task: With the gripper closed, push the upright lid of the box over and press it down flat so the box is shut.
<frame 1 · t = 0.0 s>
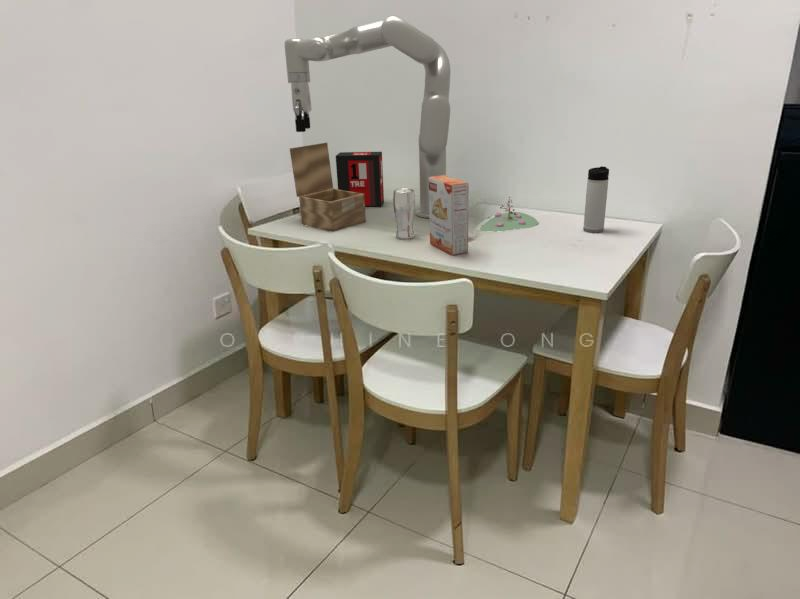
hand: (303, 130, 213), 31 cm above the table, tool pointing down, fingers open, 9 cm apart
lid: (312, 169, 214), point 18 cm above the table, hinge at 95.0°
box: (333, 223, 215), on the table
plant: (504, 225, 208), on the table
travel mug: (593, 231, 196), on the table
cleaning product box: (361, 205, 240), on the table
beer glass: (405, 237, 197), on the table
cracker box: (448, 249, 183), on the table
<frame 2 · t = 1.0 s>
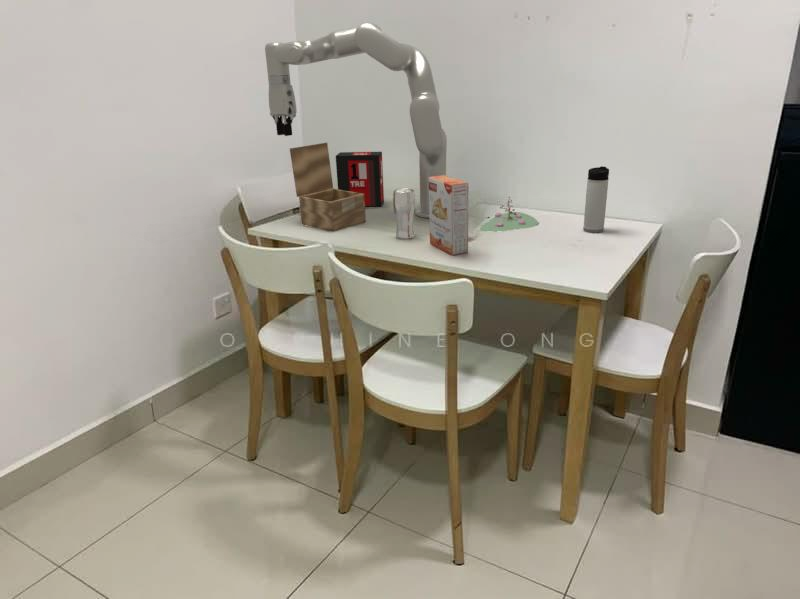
hand: (284, 134, 219), 29 cm above the table, tool pointing down, fingers open, 3 cm apart
nothing on the table moved.
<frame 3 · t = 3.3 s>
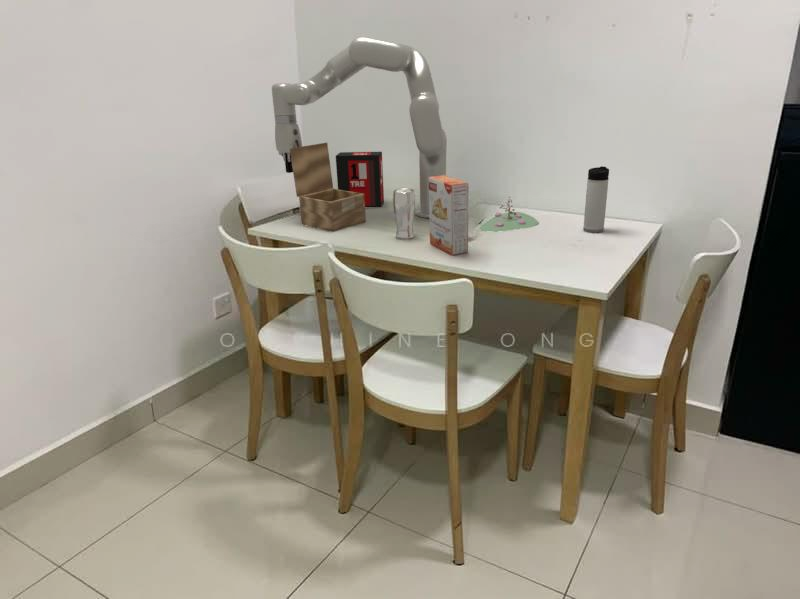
hand: (290, 172, 223), 16 cm above the table, tool pointing down, fingers closed
nothing on the table moved.
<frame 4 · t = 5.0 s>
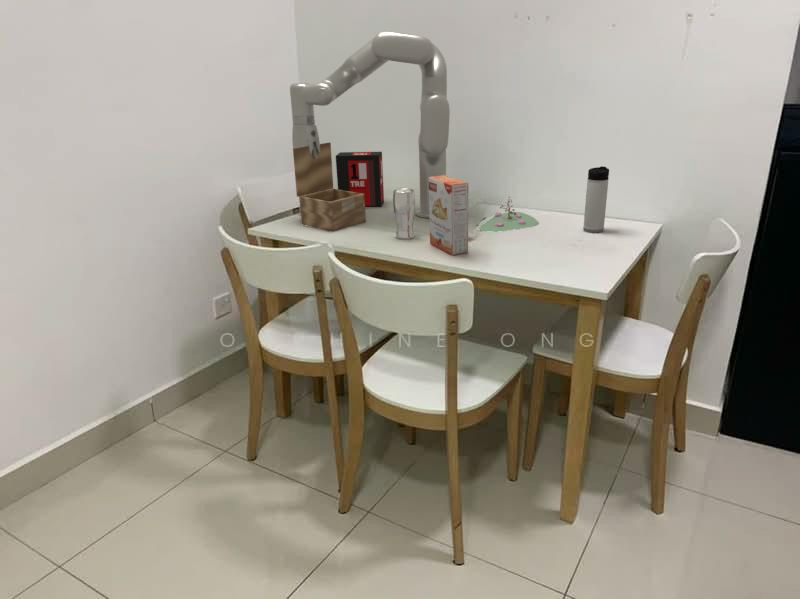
hand: (307, 174, 217), 16 cm above the table, tool pointing down, fingers closed
lid: (313, 169, 214), point 18 cm above the table, hinge at 88.7°, touching gripper
everything else where it was.
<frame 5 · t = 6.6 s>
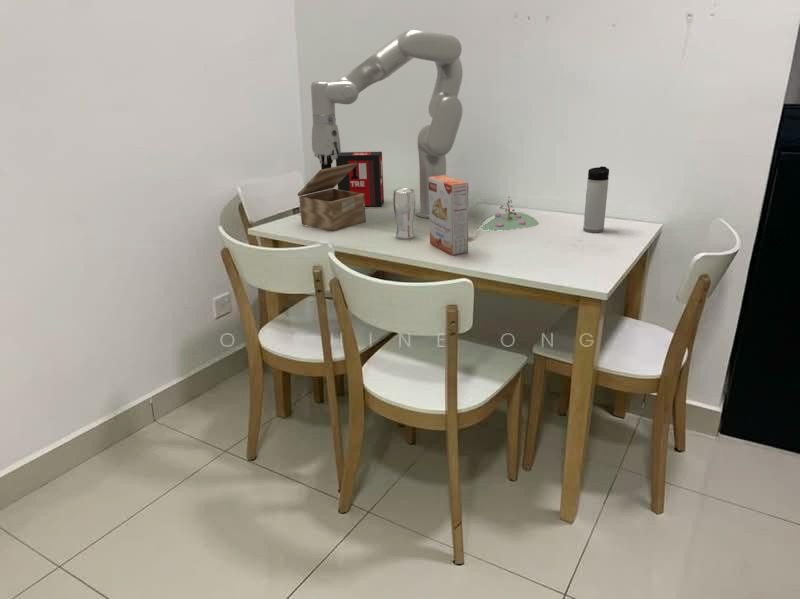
hand: (326, 175, 209), 17 cm above the table, tool pointing down, fingers closed
lid: (327, 179, 211), point 15 cm above the table, hinge at 36.2°, touching gripper
everything else where it was.
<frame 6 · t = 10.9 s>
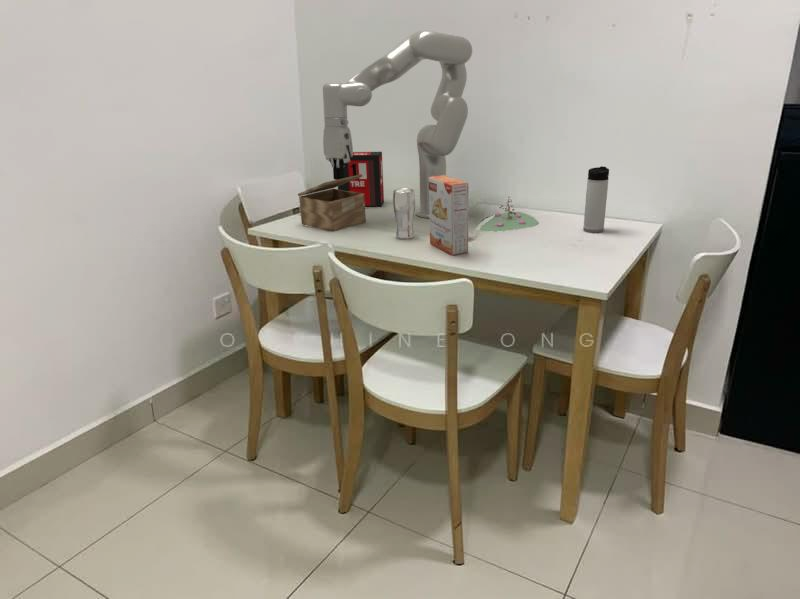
hand: (338, 179, 206), 16 cm above the table, tool pointing down, fingers closed
lid: (329, 185, 210), point 13 cm above the table, hinge at 20.5°, touching gripper
everything else where it was.
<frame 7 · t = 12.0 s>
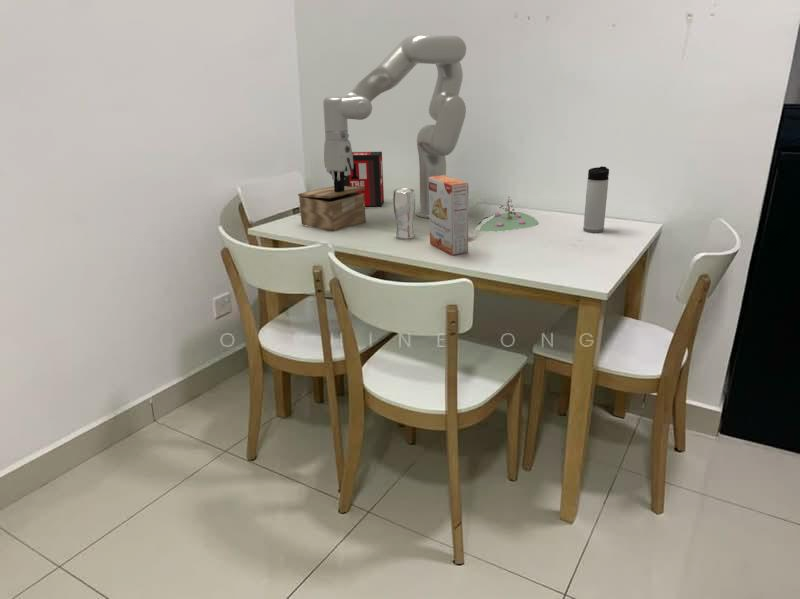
hand: (339, 191, 207), 12 cm above the table, tool pointing down, fingers closed
lid: (331, 191, 211), point 11 cm above the table, hinge at 4.5°, touching gripper
everything else where it was.
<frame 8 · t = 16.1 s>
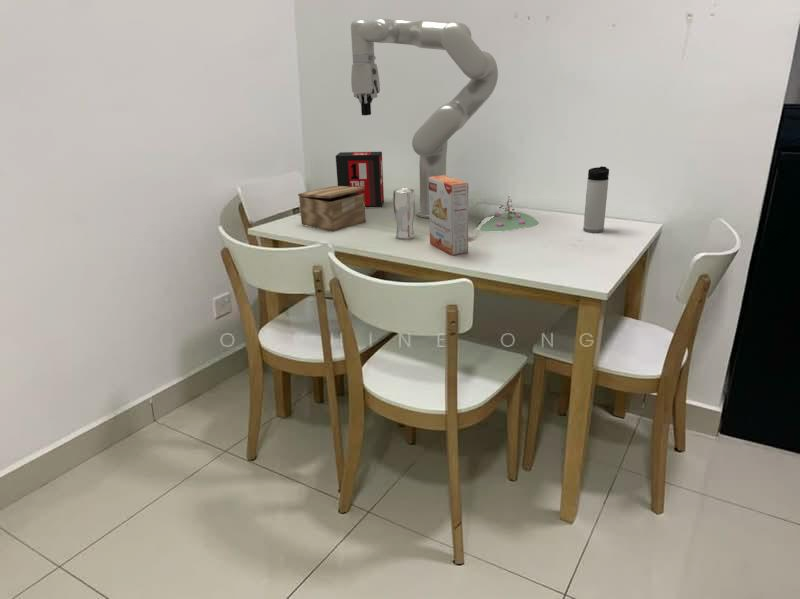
hand: (366, 114, 216), 35 cm above the table, tool pointing down, fingers closed
lid: (331, 191, 211), point 11 cm above the table, hinge at 4.4°
everything else where it was.
at the end: lid at +4° (first picture: +95°) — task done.
